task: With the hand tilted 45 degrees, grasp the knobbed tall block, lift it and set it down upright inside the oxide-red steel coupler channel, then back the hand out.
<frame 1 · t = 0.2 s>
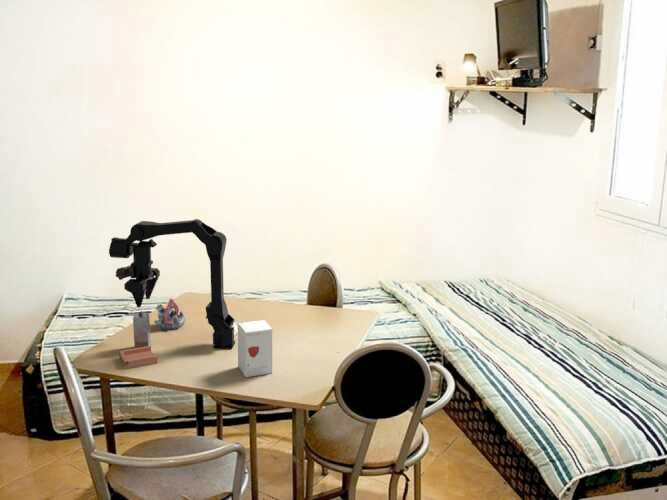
hand: (143, 302, 214), 15 cm above the table, tool pointing down, fingers open, 9 cm apart
coupler channel: (138, 360, 203), on the table
supplement box: (255, 370, 197), on the table
brake caliper: (170, 326, 234), on the table
knobbed tall block: (142, 348, 213), on the table
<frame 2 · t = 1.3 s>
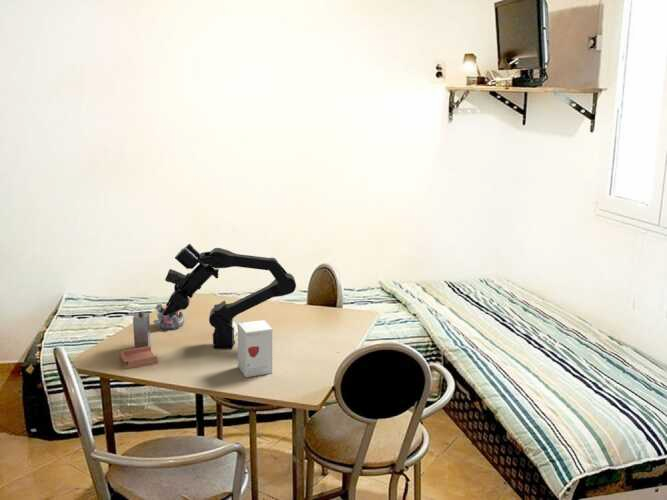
hand: (165, 310, 211), 13 cm above the table, tool tilted 45°, fingers open, 9 cm apart
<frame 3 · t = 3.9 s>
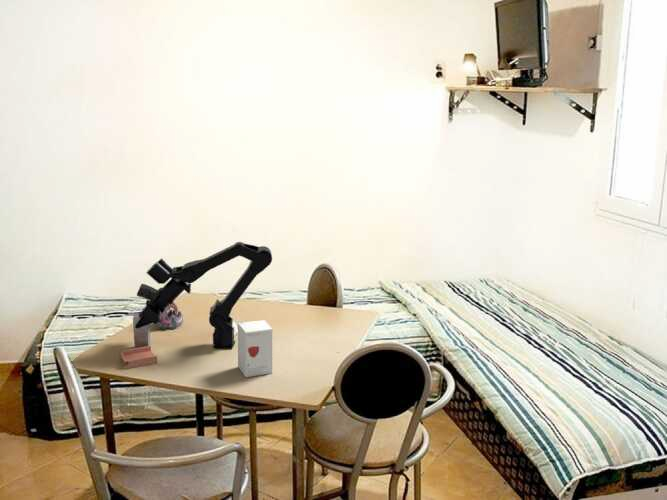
hand: (137, 324, 211), 9 cm above the table, tool tilted 45°, fingers closed on knobbed tall block, 5 cm apart
knobbed tall block: (142, 348, 213), on the table, touching gripper
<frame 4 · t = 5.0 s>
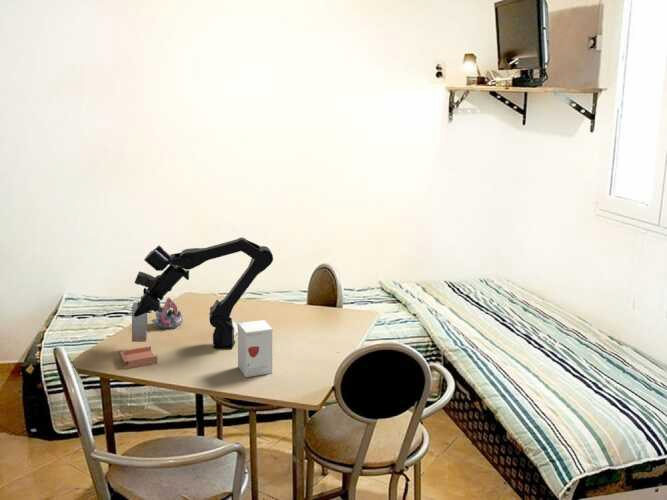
hand: (135, 313, 208), 13 cm above the table, tool tilted 45°, fingers closed on knobbed tall block, 5 cm apart
knobbed tall block: (139, 339, 210), point 4 cm above the table, touching gripper
when the fingers open (11 cm above the table, at t = 6.4 s): knobbed tall block stays where it is, resting on coupler channel.
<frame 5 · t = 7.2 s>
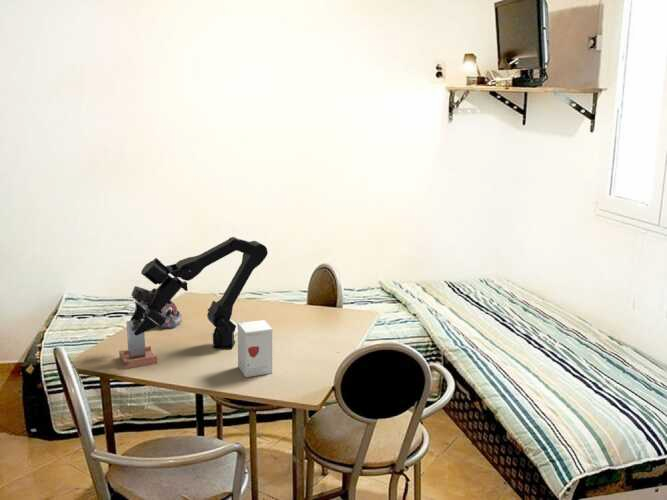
hand: (132, 330, 200), 11 cm above the table, tool tilted 45°, fingers open, 9 cm apart
knobbed tall block: (137, 357, 202), point 1 cm above the table, touching coupler channel
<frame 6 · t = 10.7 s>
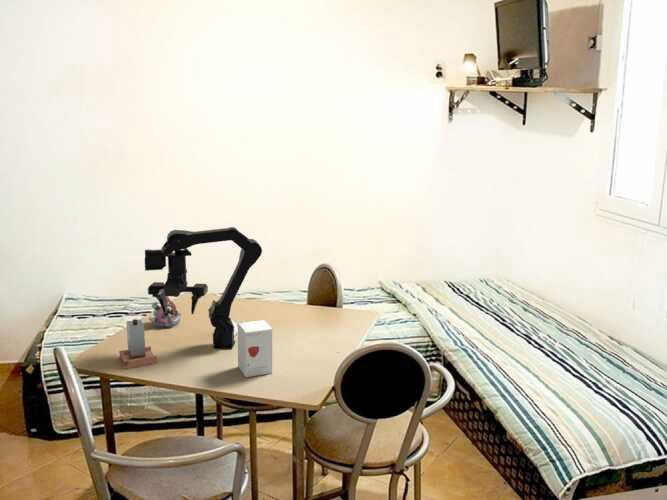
hand: (179, 313, 209), 13 cm above the table, tool pointing down, fingers open, 9 cm apart
at the end: knobbed tall block 0.4 cm from the coupler channel (horizontally); knobbed tall block tilted 0°; knobbed tall block point 1.0 cm above the table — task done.
